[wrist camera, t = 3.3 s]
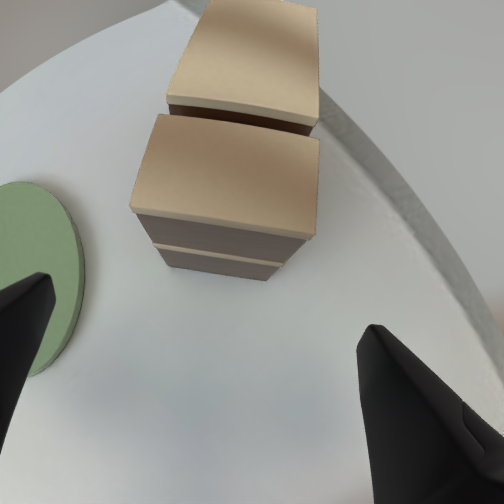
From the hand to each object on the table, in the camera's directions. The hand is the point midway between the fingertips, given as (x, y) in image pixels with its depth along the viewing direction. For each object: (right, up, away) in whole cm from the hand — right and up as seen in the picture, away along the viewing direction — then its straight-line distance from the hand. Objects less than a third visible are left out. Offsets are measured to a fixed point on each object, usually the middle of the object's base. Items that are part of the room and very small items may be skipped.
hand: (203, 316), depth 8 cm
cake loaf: (0, +10, +15) cm, 18 cm away
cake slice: (-1, +2, +13) cm, 13 cm away
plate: (-17, 0, +10) cm, 20 cm away
